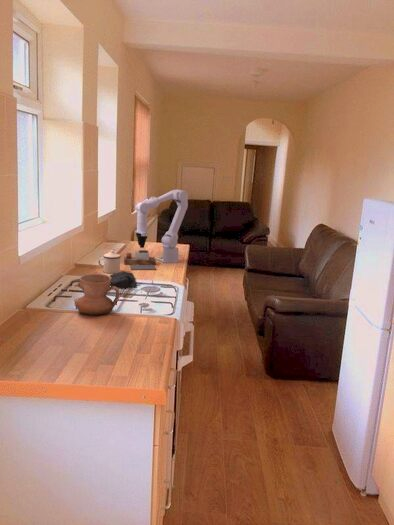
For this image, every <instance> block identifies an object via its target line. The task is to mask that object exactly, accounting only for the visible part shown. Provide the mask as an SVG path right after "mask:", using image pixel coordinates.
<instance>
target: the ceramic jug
mask: <svg viewBox="0 0 394 525" xmlns="http://www.w3.org/2000/svg"><path fill="white" fill-rule="evenodd" d="M110 284H111V277H110V275H107V274H102V273H90V274H89V273H88V274H83V275H81V276H80V277H79V282H75V283H73V287H74V288H76V287H77V288H79V289H81V290H82V292H83V296H80V298H78V299H77V300H75V301H74V304H75V306H76V309H77V310H78V312H80V313H83V314H85V315H91V316H97V315H99V316H100V315H104V314H107V313H109V312H111V310H113V309H114V307H115V305H116V303H117V301H118V300H119V297H120V294H121V293H120V288H117V287H115V286H111V287H110ZM112 290H113V291H115V298H114V299H113V300H112V299H111V298H110V297H109V296H107V293H108V292H110V291H112Z"/></svg>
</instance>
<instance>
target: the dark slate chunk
mask: <svg viewBox="0 0 394 525" xmlns="http://www.w3.org/2000/svg"><path fill="white" fill-rule="evenodd" d="M109 276H110V277H111V284H110V286H115V287H117V288H118V289H129V288H130V289H133V288H134V289H135V288H137V282H136V278H135V275H134V273H133V272H129V271H120V272H119V273H115V274H110V275H109Z"/></svg>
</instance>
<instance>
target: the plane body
mask: <svg viewBox="0 0 394 525" xmlns="http://www.w3.org/2000/svg"><path fill="white" fill-rule="evenodd" d="M125 254H126V255H125V256H124V257H123V263H124V266H130V265H155V266H156V264H157V261H156V258H155V257H154V256H153V257H152V256H149V260H144V259H135V258H134V257H135V256H132V253H131V252H127V253H125Z"/></svg>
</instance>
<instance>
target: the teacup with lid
mask: <svg viewBox="0 0 394 525" xmlns="http://www.w3.org/2000/svg"><path fill="white" fill-rule="evenodd" d="M101 260H103V265H102V264H101ZM97 261H98V265H99V266H100V267H101V268H103V273H106V274H110V275H112V274H116V273H119V272H121V255H120V254H119V253H117V252H116V251H115V250H110V251H109V252H107V253H105V254H103V256H102V257H100V258H99V259H98V260H97Z"/></svg>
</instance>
